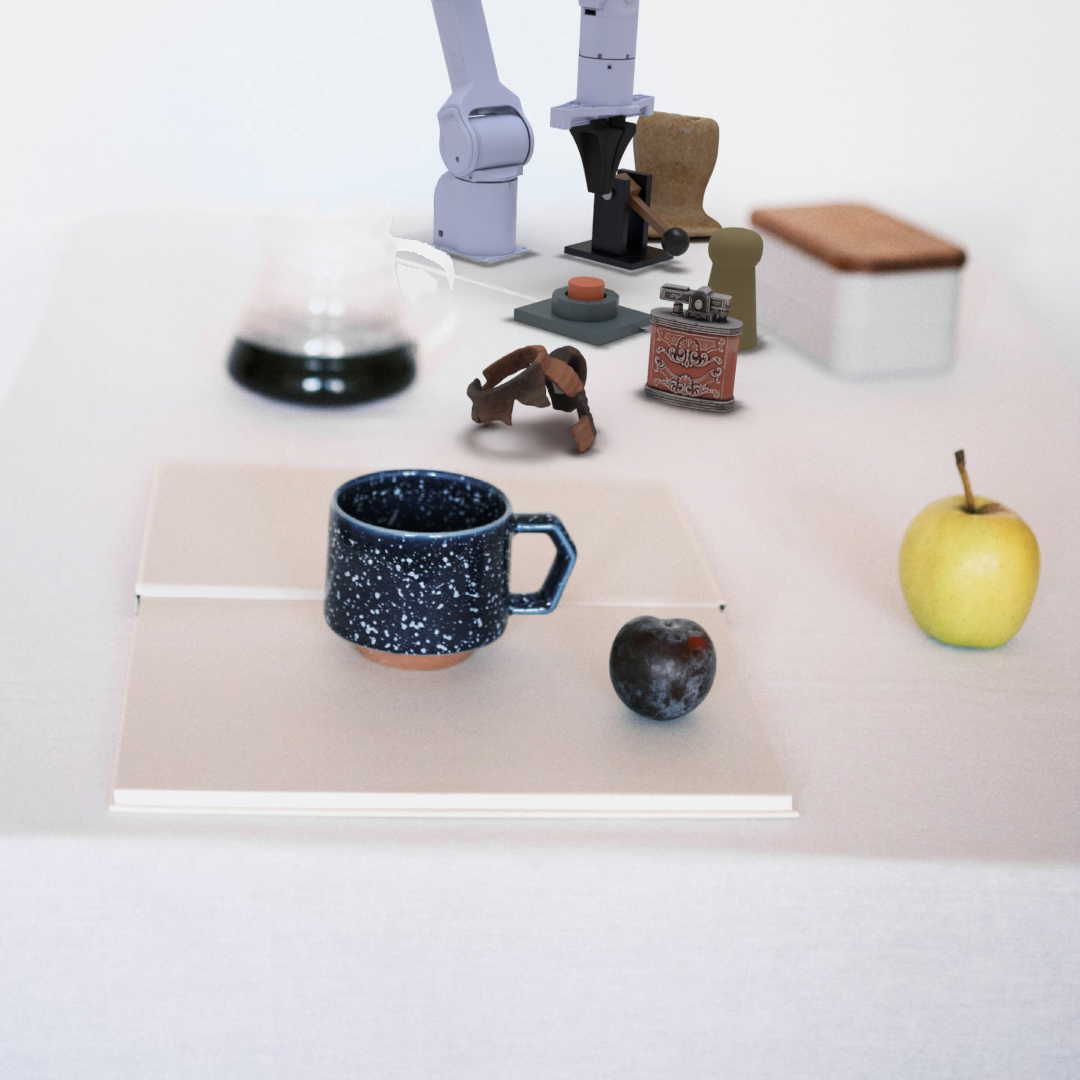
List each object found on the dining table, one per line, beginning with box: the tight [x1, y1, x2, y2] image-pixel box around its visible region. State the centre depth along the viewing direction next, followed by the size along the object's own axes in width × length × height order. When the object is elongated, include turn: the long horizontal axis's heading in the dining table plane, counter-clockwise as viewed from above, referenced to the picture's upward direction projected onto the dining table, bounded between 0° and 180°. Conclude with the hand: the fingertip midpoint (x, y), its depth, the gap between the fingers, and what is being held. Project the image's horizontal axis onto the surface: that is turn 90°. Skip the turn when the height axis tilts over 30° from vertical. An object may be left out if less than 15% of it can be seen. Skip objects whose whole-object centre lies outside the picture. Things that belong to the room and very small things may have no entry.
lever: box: [616, 173, 691, 257], centre depth 155 cm, size 12×3×3 cm, turn 50°
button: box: [567, 275, 606, 301], centre depth 136 cm, size 4×4×2 cm
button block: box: [513, 285, 652, 347], centre depth 137 cm, size 11×9×3 cm
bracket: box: [563, 168, 675, 272], centre depth 158 cm, size 10×8×10 cm
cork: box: [707, 226, 764, 352], centre depth 132 cm, size 6×6×11 cm
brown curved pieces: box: [466, 344, 598, 453], centre depth 110 cm, size 12×10×8 cm
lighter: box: [643, 282, 743, 413], centre depth 117 cm, size 8×3×10 cm, turn 65°
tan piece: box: [632, 110, 723, 239], centre depth 168 cm, size 15×12×15 cm
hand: (598, 192), depth 144 cm, fingers closed
